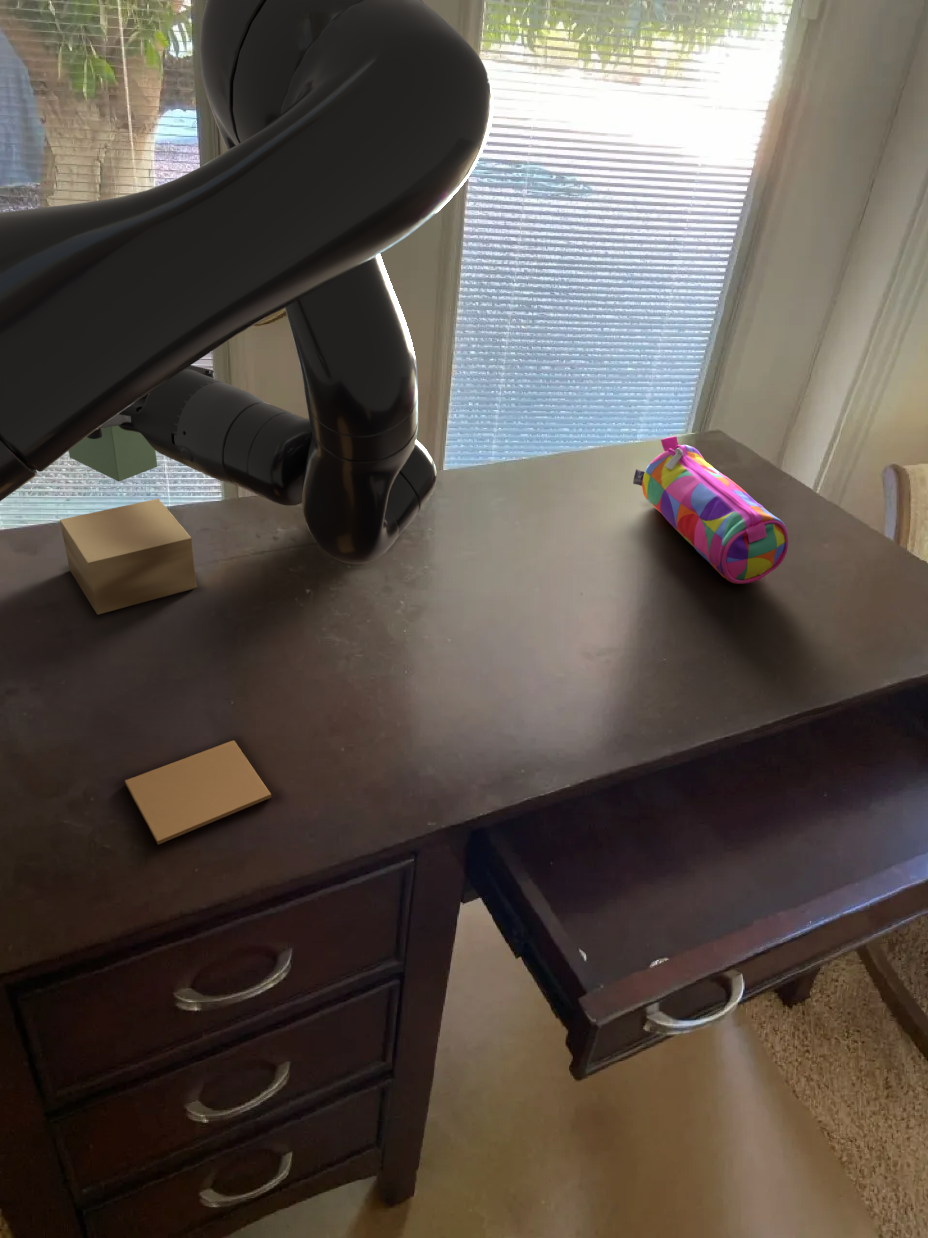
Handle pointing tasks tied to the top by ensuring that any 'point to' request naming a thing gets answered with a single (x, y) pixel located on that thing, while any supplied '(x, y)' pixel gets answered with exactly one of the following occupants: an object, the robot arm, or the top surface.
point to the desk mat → (196, 791)
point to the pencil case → (713, 514)
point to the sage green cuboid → (116, 453)
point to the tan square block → (128, 555)
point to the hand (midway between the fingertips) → (81, 371)
